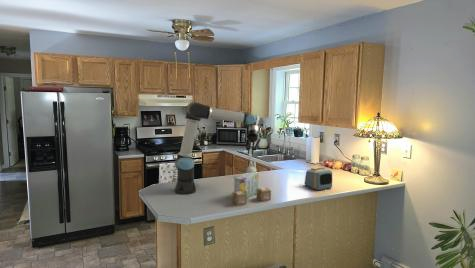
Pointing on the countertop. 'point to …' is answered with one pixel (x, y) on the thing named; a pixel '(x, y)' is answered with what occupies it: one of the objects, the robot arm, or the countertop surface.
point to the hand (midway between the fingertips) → (249, 157)
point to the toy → (251, 168)
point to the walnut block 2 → (263, 194)
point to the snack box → (247, 183)
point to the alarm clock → (318, 178)
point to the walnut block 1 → (239, 198)
